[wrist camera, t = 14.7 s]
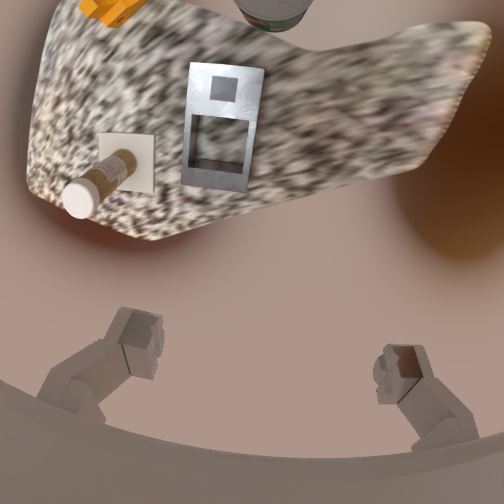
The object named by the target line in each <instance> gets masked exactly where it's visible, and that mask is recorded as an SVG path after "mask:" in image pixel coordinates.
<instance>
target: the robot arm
mask: <svg viewBox="0 0 504 504" xmlns="http://www.w3.org/2000/svg"><path fill="white" fill-rule="evenodd" d="M162 324H163V316H162V315H158V314H154V313H150V312H145V311H141V310H137V309H132V308H128V307H123V306H122V307H121V308H120V309H119V310H118V312H117V314H116V316H115V318H114V320H113V321H112V323H111V325H110V327H109V329H108V331H107V333H106V336H105V337H104V339H98V340H97V341H95V342H94V343H92V344H90V345H89V346H87V347H85V348H84V349H82V350H81V351H79V352H77V353H76V354H74V355H72V356H71V357H69V358H68V359H66V360H64V361H63V362H61V363H60V364H58V365H56V366H55V367H53V368H51V369H50V371H49V373H48V375H47V377H46V379H45V381H44V383H43V385H42V387H41V389H40V391H39V393H38V395H37V397H34V396H32V395H29V394H27V393H25V392H23V391H21V390H19V389H17V388H15V387H13V386H11V385H9V384H7V383H5V382H3V381H1V380H0V504H504V432H501V433H498V434H494V435H491V436H487V437H484V438H479V435H478V431H477V427H476V424H475V421H474V417H473V414H472V412H471V411H470V410H469V409H468V408H467V407H466V406H465V405H464V404H463V403H462V402H461V401H460V400H459V399H458V398H457V397H456V396H455V395H454V394H453V393H452V392H451V391H450V390H449V389H448V388H447V387H446V386H445V385H444V384H443V383H442V382H441V381H440V380H439V379H438V378H435V377H434V374H433V372H432V369H431V366H430V363H429V360H428V357H427V354H426V351H425V349H424V347H423V346H422V345H410V344H388V345H386V346H385V348H384V349H383V352H384V354H383V355H381V356H379V357H378V358H377V360H376V362H375V364H374V368H373V377H374V381H375V382H376V383H377V384H378V387H377V389H376V392H377V397H378V402H379V404H398V407H399V409H400V410H401V411H402V413H403V414H404V415H405V417H406V418H407V420H408V421H409V422H410V424H411V425H412V427H413V428H414V429H415V431H416V432H417V434H418V435H419V436H420V438H421V439H419V440H418V441H417V442H416V443H414V444H413V445H412V447H411V449H412V452H408V453H401V454H392V455H382V456H369V457H355V458H354V457H353V458H289V457H272V456H259V455H249V454H239V453H232V452H224V451H217V450H211V449H204V448H199V447H193V446H188V445H182V444H178V443H173V442H168V441H164V440H160V439H155V438H151V437H147V436H144V435H140V434H136V433H132V432H129V431H125V430H122V429H118V428H115V427H112V426H109V425H106V424H104V423H105V420H106V418H105V416H104V414H103V412H102V411H101V409H100V407H99V406H98V404H99V403H100V402H101V401H102V400H104V399H105V398H106V397H107V396H108V395H109V394H110V393H112V392H113V391H114V390H115V389H117V388H118V387H119V386H120V385H121V384H122V383H123V382H125V381H126V380H127V379H128V378H129V377H130V375H132V376H136V377H141V378H145V379H150V380H153V378H154V374H155V372H156V369H157V358H158V357H159V356H161V353H162V350H163V344H164V330H163V329H162V328H161V327H162Z"/></svg>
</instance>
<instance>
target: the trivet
mask: <svg viewBox="0 0 504 504" xmlns="http://www.w3.org/2000/svg"><path fill="white" fill-rule="evenodd" d="M119 149H125V150H128V151H129V152H131V153H132V154H133V155H134V157H135V160H136V169H135V172H134V173H133V174H132V175H131V176H130V177H128V178H127V179H126V180H125V181H124V182H123V183H122V184H121V185H120V186H119V187H118V188H116V190H126V191H135V192H143V193H152V194H153V193H154V171H155V134H145V133H125V132H99V159H100V162H101V161H102V160H104V159H105V158H107V157H109V156H110V155H112V154H113V153H114V152H115V151H116V150H119Z"/></svg>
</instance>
